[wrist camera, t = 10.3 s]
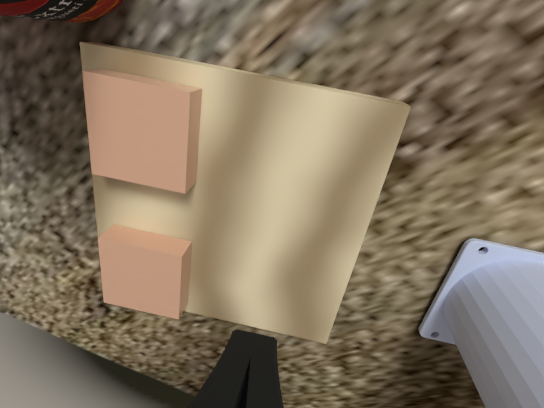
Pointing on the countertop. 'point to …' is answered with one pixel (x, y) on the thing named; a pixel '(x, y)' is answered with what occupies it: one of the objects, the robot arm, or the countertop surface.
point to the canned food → (58, 9)
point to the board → (262, 190)
